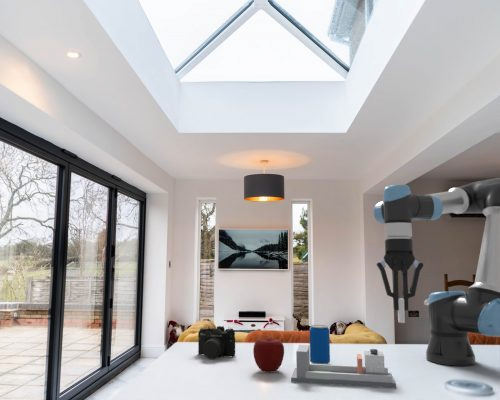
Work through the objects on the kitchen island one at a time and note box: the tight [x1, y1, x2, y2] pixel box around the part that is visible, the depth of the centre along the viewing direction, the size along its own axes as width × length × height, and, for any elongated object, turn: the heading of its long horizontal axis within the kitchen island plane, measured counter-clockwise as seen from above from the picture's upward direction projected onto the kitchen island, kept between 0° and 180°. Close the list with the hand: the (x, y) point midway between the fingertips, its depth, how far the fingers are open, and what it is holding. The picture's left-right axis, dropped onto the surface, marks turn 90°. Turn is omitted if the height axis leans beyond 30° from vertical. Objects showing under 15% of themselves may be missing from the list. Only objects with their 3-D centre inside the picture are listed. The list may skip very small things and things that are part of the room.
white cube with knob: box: [363, 348, 386, 375], centre depth 123 cm, size 5×6×7 cm
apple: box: [252, 337, 285, 373], centre depth 134 cm, size 10×10×10 cm
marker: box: [356, 353, 364, 374], centre depth 124 cm, size 1×6×5 cm, turn 168°
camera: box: [197, 325, 236, 360], centre depth 154 cm, size 14×11×10 cm
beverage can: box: [309, 324, 331, 365], centre depth 144 cm, size 6×6×12 cm
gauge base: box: [290, 344, 397, 389], centre depth 125 cm, size 28×11×8 cm, turn 79°
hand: (401, 322), depth 123 cm, fingers closed
